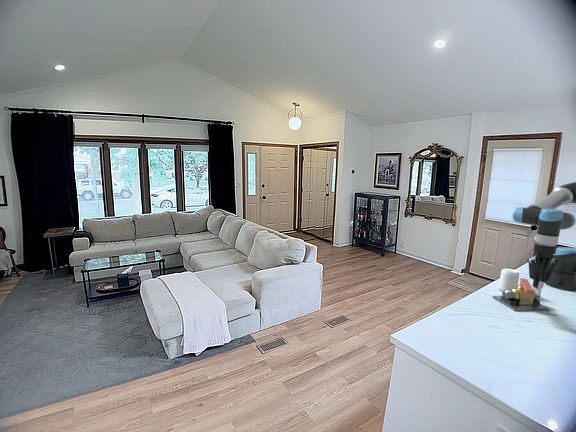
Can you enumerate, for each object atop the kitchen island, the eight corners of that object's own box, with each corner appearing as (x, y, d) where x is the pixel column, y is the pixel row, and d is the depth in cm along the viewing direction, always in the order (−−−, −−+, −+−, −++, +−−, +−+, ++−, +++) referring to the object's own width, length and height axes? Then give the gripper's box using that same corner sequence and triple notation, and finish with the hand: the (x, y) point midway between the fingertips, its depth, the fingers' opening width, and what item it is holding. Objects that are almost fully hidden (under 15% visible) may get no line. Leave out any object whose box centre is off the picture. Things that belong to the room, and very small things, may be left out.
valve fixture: (524, 297, 159) (527, 280, 157) (548, 310, 145) (552, 292, 143) (492, 297, 157) (495, 280, 155) (514, 310, 143) (517, 292, 142)
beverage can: (519, 294, 163) (523, 273, 161) (504, 293, 163) (508, 272, 161) (509, 288, 171) (512, 268, 169) (495, 287, 171) (498, 267, 169)
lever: (519, 284, 151) (520, 277, 150) (525, 285, 150) (527, 278, 149) (525, 296, 136) (526, 289, 136) (532, 298, 135) (533, 290, 134)
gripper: (551, 241, 136) (541, 290, 140) (524, 241, 135) (516, 290, 139) (567, 246, 128) (557, 297, 133) (539, 246, 127) (530, 298, 132)
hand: (536, 294), depth 136 cm, fingers closed
